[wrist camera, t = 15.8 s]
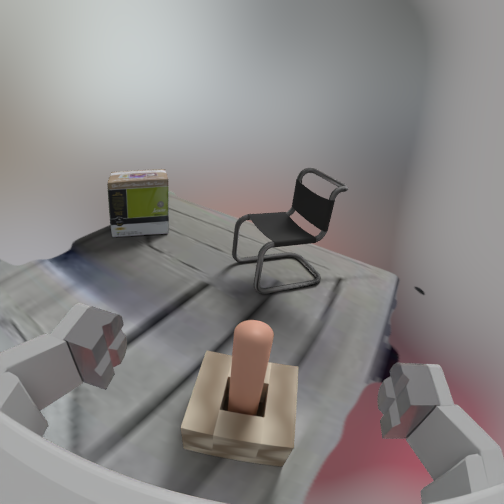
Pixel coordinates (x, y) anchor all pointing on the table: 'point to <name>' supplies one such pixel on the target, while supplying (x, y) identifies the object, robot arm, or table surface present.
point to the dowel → (249, 365)
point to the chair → (291, 228)
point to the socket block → (241, 415)
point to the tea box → (138, 202)
